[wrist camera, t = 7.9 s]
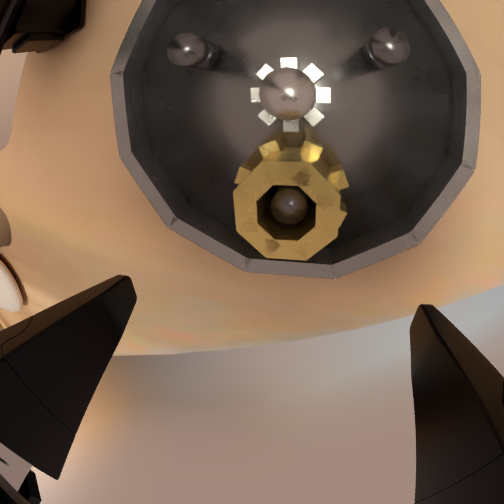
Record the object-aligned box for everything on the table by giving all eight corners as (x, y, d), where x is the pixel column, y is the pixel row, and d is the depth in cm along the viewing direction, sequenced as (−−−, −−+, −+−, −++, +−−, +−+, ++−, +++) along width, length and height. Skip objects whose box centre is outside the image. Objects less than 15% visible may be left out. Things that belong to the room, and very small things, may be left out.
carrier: (137, -14, 12) (99, -27, 8) (443, -22, 7) (469, -43, 4) (162, 240, 22) (133, 270, 19) (431, 259, 18) (450, 297, 14)
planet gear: (245, 232, 19) (228, 265, 16) (238, 137, 16) (216, 148, 12) (341, 238, 17) (345, 273, 14) (348, 138, 14) (357, 151, 11)
